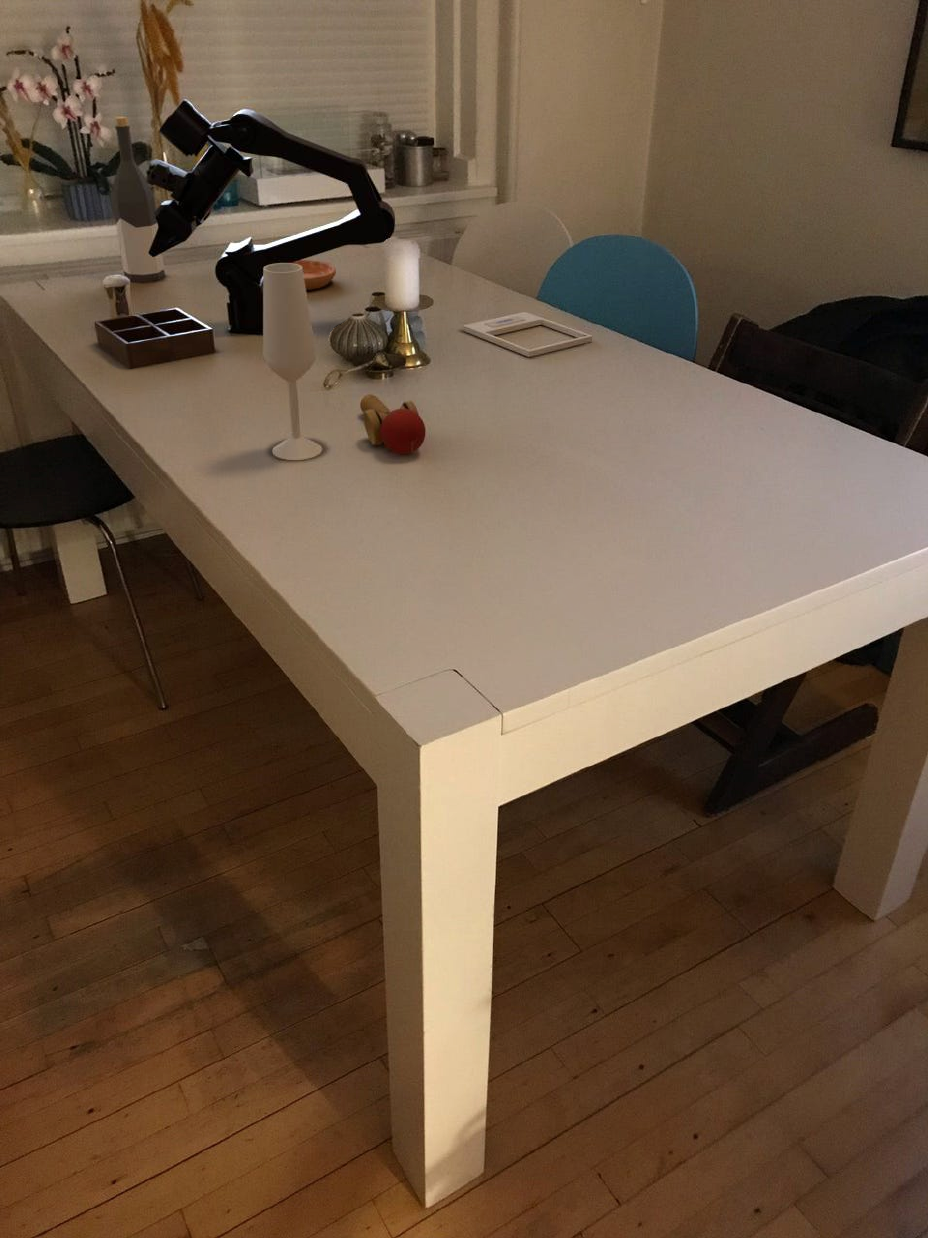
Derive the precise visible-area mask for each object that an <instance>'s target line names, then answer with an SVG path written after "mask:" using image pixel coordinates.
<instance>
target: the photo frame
mask: <svg viewBox="0 0 928 1238" xmlns="http://www.w3.org/2000/svg"><path fill="white" fill-rule="evenodd" d="M540 325H542V326H545V327H547V328H549V329H553V330H555V331H558V332H561V333H563V334H566V335H569V336H572V337H575V338H572V339H568V340H564V341H559V342H556V343H555V342H554V343H552V344H548V345H543V346H540V347H536V348H531V349H528V348H526V347H524V346H520V345H518V344H516V343H513V342H510V341H508V340H506V339H503V338H500V337H498V336H497V335H502V334H506V333H509V332H514V331H519V330H523V329H528V328H531V327H536V326H540ZM462 331H463V332H465V333H467V334H469V335H474V336H475V337H478V338H480V339H483V340H485V341H488V342H491V343H493V344H495V345H498V346H501V347H503V348H505V349H508V350H510V351H513V352H515V353H517V354H521V355H523V356H525V357H527V358H530V357H535V356H539V355H543V354H547V353H550V352H551V353H552V352H554V351H555V352H556V351H559V350H562V349H566V348H567V349H568V348H570V347H575V346H580V345H582V344H583V345H584V344H586V343H590V342H593V335H591V334H588V333H585V332H583V331H580V330H577V329H574V328H571V327H569V326H566V325H563V324H561V323H558V322H554V321H552V320H549V319H546V318H543V317H541V316H538V315H535V314H532V313H529V312H527V311H523V312H518V313H514V314H510V315H504V316H500V317H496V318H491V319H486V320H482V321H476V322H473V323H469V324H464V325H462Z"/></svg>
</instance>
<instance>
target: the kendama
mask: <svg viewBox="0 0 928 1238" xmlns="http://www.w3.org/2000/svg"><path fill="white" fill-rule="evenodd" d="M359 407H360V410H361V412H362V413H363V415H362V416H363V424H364V428H365V431H366V434H367V437H368V439H369V441H370V443H371V444H372V445H373V446H379V445H382V444H384V446H385V447H386V448H387V449H388V450H390V451H391V452H392V453H395V454H398V455H411V454H412V453H414V452H415V451H418V449H419V448H421V447H422V445H423V444H424V441H425V438H426V433H427V432H426V431H427V430H426V426H425V422H424V420H423V419H422V417H421V416H420V414H419V412H418V407H416V404H415V403H414V402H413V401H412V400H407V401H404V402H403V403H402V405H401V406H400V407H399V408H397V409H394V410H392V411H391V410H390V409H389V408H388V407H387V406H386V405H385V404H384V403H383V402H382V401H381V400H380V399H379V398H378V396H376V395H374V394H372V393H371V394H370V393H369V394H366V395H364V396H363V397H362V399H361V400H360V404H359Z"/></svg>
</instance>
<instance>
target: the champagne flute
mask: <svg viewBox="0 0 928 1238" xmlns="http://www.w3.org/2000/svg"><path fill="white" fill-rule="evenodd" d="M262 291H263V334H262V339H263V340H262V357H263V359H264V360H263V361H264V362H265V364H266V365H267V367H268V368H269V369H270V370H271V371H272V372H273V373H274V374H275V375H277V376H278V377H279V378H280V379H282V380H284V381H286V382H287V394H288V395H287V396H288V408H289V420H290V431H291V437H289V438H287V439H285V440H284V441H282V442H280V443H279V444H277V445H275V446H273V448H272V450H271V451H272V454H273V456H274V457H276V458H279V459H283V460H287V461H302V460H308V459H312V458H314V457H317V456H318V455H320V454H321V453H322V451H323V447H322V446H321V445H320V444H318V443H317V442H315V441H312V440H311V439H308V438H306V437H303V436H301V424H300V410H299V397H298V386H297V385H298V384H297V383H298V382H297V381H298V380H301V379H302V378H303V377H304V375H306V374H307V372H309V370H311V368H312V367H313V365H314V364H315V361H316V358H317V350H316V344H315V338H314V331H313V325H312V320H311V313H310V307H309V300H308V295H307V294H308V293H307V290H306V287H305V281H304V275H303V269H302V266H300V265H298V264H292V263H277V264H271V265H267V266H265V267H264V268H263V289H262Z"/></svg>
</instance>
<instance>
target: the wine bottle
mask: <svg viewBox="0 0 928 1238" xmlns="http://www.w3.org/2000/svg"><path fill="white" fill-rule="evenodd" d="M114 118H115V126H114V127H115V131H116V132H115V133H116V137H117V144H118V150H119V157H120V162H119V165H118V168H117V171H116V174H115V176H114V181H113V184H112V197H111V198H112V199H111V203H112V207H113V213H114V214H113V215H114V222H115V226H116V233H117V239H118V246H119V251H120V257H121V262H122V269H123V276H126V277H127V278H128V279H129V280H130V283H144V284H145V283H150V282H157V281H160V280H162V279H163V278H165V275H166V274H165V273H166V272H165V265H164V259H163V253H161V254H159V255H157V256H155V257H152V256H151V255H149V253H148V252H149V250H150V247H151V245H152V242H153V240H154V237H155V235H156V232H157V230H158V224H157V220H156V219H155V214H154V213H155V212H156V210H157V208H156V201H155V197H154V194H153V192H152V188H151V185H150V184H148V183H147V182H146V178H147V177H146V176H145V175H144V173H143V172H142V170H141V168H139V166H138V164H137V163H136V161H135V158H134V152H133V145H132V137H131V131H130V129H131V128H130V125H129V124H128V123H129V122H128V118H127V117H126V116H117V117H114ZM132 270H133V271H132ZM131 273H132V275H131ZM130 277H131V279H130Z"/></svg>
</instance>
